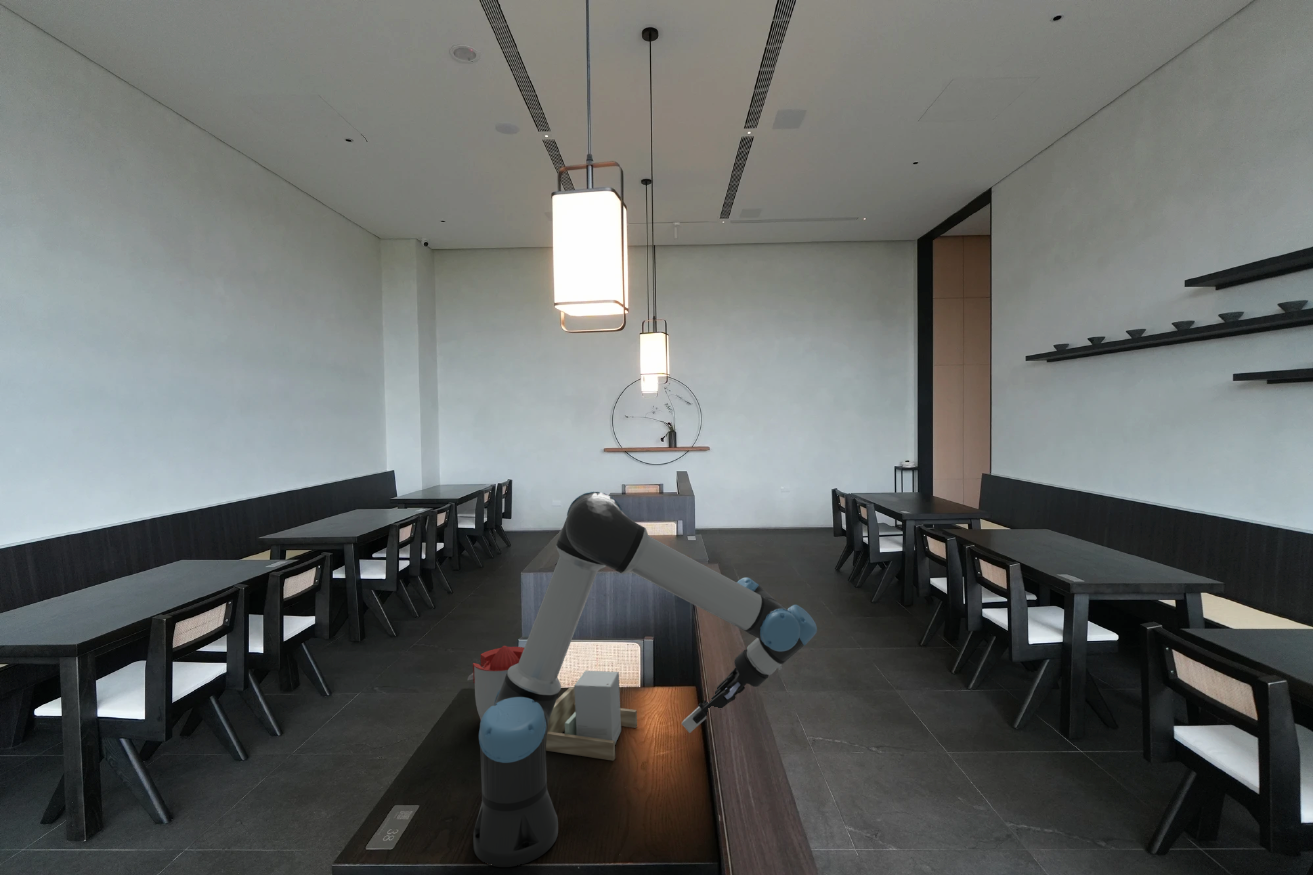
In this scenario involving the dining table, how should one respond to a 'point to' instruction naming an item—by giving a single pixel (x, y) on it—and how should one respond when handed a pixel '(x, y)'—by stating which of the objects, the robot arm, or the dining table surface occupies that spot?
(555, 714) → the pusher lane
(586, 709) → the supplement box
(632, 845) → the dining table surface
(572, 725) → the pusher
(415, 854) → the dining table surface
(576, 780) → the dining table surface
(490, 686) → the citrus juicer
